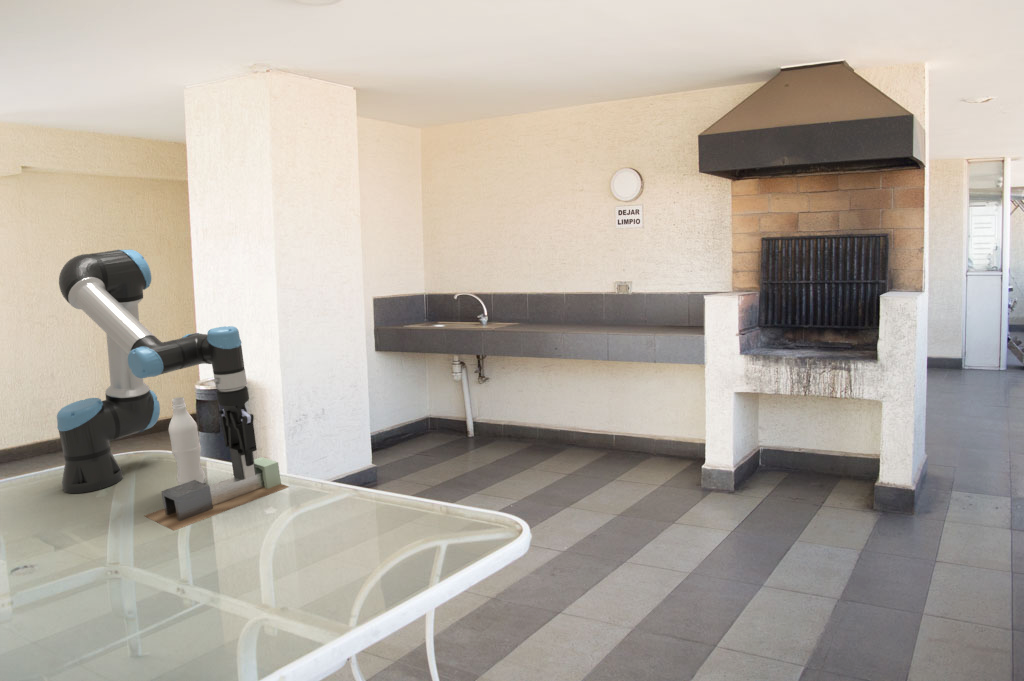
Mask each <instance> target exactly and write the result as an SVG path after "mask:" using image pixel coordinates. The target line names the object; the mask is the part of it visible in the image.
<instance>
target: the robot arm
mask: <svg viewBox="0 0 1024 681" xmlns="http://www.w3.org/2000/svg"><path fill="white" fill-rule="evenodd" d="M59 272H60V273H59V276H58V285H59V286H58V287H59V290H60V294H61V295H62V297H63V298H64V299H65V301H66V302H67V303H68V304H69V305H70V306H71V307H73V308H74V309H77V310H81V311H83V312H84V314H86V315H87V316H88V317H89V318H90V320H92V321H93V322H94V323H95V325H97V326H98V327H99V328H100V329H101V330H102V331H103V332H104V333H106V344H107V345H106V346H107V358H108V366H109V367H108V370H109V382H110V383H109V384H110V385H109V386H108V387H107V388H106V389H105V391H104V392H105V400H102V399H101V398H99V397H90V398H89V397H88V398H86V399H80V400H77V401H74V402H71V403H69V404H67V405H65V406H63V407H62V408H60V410H58V412H57V413H56V422H57V427H56V428H57V430H58V433H59V434H58V435H59V438H60V443H61V444H60V445H61V448H62V453H63V459H64V468H63V473H62V479H61V486H62V490H63V491H64V492H65V493H68V494H82V493H83V494H84V493H90V492H94V491H98V490H101V489H105V488H108V487H110V486H113V485H115V484H117V483H120V482H121V480H122V479H124V476H123V471H122V467H120V464H119V463H118V462H117V459H116V458H115V456H114V454H113V453H112V450H111V445H110V442H112V441H115V440H118V439H121V438H124V437H127V436H131V435H135V434H138V433H143V432H144V431H145V430H148V429H151V428H153V427H154V425H156V423H157V422H158V421H159V419H160V413H161V407H160V406H161V405H160V402H159V400H158V395H157V394H156V393H155V392H154V391H153V390H151V388H150V387H149V385H148V384H146V383H145V382H144V379H146V378H152V377H158V376H160V375H164V374H167V373H171V372H176V371H179V370H183V369H186V368H191V367H194V366H197V365H204V364H206V365H211V368H212V373H213V382H214V383H215V384H214V385H215V388H216V398H217V404H218V405H219V406H221V407H223V409H219V410H218V415H219V418H220V423H221V428H222V433H223V434H222V435H223V440H224V445H225V447H226V448H228V450H230V447H233V446H236V445H239V444H240V446H241V449H242V453H240V455H241V460H242V467H243V473H244V479H247V478H250V477H253V476H255V470H254V463H253V457H254V456H253V457H252V452H253V453H254V452H256V451H257V443H256V441H257V440H256V434H255V433H256V432H255V427H254V426H255V425H254V418H255V416H254V414H253V413H251V414H249V413H248V411H247V407H246V403H247V402H249V399H250V397H249V389H248V386H247V384H248V382H247V374H246V369H245V362H244V357H243V348H242V346H243V345H242V341H241V337H240V332H239V329H238V328H237V327H236V326H233V325H230V326H217V327H214V328H210V329H208V330H207V334H206V333H199V332H193V333H187V334H185V335H184V336H182V337H181V338H177V339H171V340H168V341H161V340H160V339H159V338H158V337H157V336H155V335H154V334H153V333H152V332H151V331H150V330H149V329H148V328H147V327H146V326H145V325H144V324H142V323H141V322H140V315H139V303H140V302H141V301H142V300H143V299H144V291H145V290H147V289H148V288H149V287H150V286H151V284H152V273H151V269H150V266H149V264H148V262H147V260H146V259H145V257H144V256H143V255H142V254H141V253H140V252H138V251H137V250H134V249H114V250H108V251H100V252H95V253H93V252H92V253H82V254H78V255H76V256H74V257H72V258H70V259H69V260H68V261H67V262H65V264H64V265H63V266H62V269H61V270H60V271H59Z"/></svg>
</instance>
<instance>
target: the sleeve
mask: <svg viewBox="0 0 1024 681" xmlns="http://www.w3.org/2000/svg"><path fill="white" fill-rule="evenodd" d="M210 486H211V485H209V484H206V483H201V482H199V481H196V480H193V481H190V482H187V483H184V484H181V485H178V484H177V485H176V486H173V487H170V488H166V489H164V490H162V491H161V497H162V501H163V502H162V503H163V507H164V508H163V509H165V514H166V515H170V514H173V513H176V514H177V519H178V520H179V521H182V520H184V519H187V518H190V517H192V516H195V515H198V514H200V513H203V512H206V511H209V510H211V509H213V504H212V498H211V492H210Z"/></svg>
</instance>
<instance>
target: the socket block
mask: <svg viewBox="0 0 1024 681" xmlns="http://www.w3.org/2000/svg"><path fill="white" fill-rule="evenodd" d="M254 464H255V470H256V469H262V473H263V479H264V486H265V488H267V489H268V488H271V487H274V486H277V485H279V484H282V482H281V481H282V480H281V475H280V474H281V473H280V468H279V462H278V461H277V460H272V459H270V458H266V457H264V456H261V457H258V458H254Z"/></svg>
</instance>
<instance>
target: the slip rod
mask: <svg viewBox="0 0 1024 681" xmlns="http://www.w3.org/2000/svg"><path fill="white" fill-rule="evenodd" d="M240 453H242V449H241V446H240V444H239V445H236V446H233V447H230V449H229V454H230V461H231V464H232V466H231V467H232V472H233V477H231V478H229V479H226V480H223V481H219V482H216V483H214V484H211V485H209V486H210V492H211V498H212V504H213V505H216V504H218V503H221V502H224V501H226V500H229V499H232V498H235V497H237V496H240V495H243V494H245V493H248V492H251V491H254V490H256V489H259V488H262V487H264V479H263V473H262V469H256V470H255V464H254V470H255V476H253V477H250V478H247V479H244V473H243V467H242V460H241V455H240ZM252 457H253V463H254V459H255V458H254V451H253V452H252Z"/></svg>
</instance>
